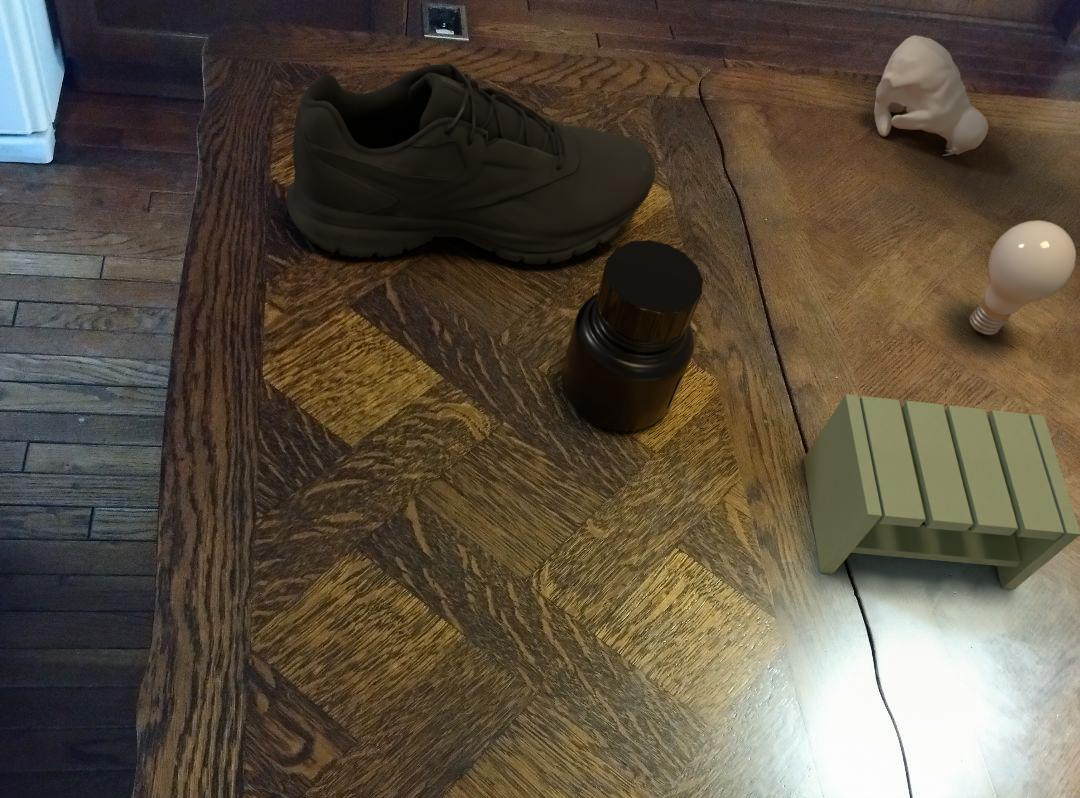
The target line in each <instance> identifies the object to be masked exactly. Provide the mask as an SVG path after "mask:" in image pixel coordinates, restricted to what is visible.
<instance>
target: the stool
mask: <svg viewBox="0 0 1080 798" xmlns="http://www.w3.org/2000/svg"><path fill="white" fill-rule="evenodd" d="M802 461H803V467H804V474H805V481H806V487H807V488H806V489H807V494H808V500H809V506H810V512H811V513H810V514H811V520H812V527H813V533H814V538H815V546H816V552H817V553H816V554H817V559H818V566H819V573H821V574H835V572H836V571H837V570H838V569H839V567H841V565H842V564H843V563H844V562H845V561H846V559H847V558H848V557H849V556H850V555H851V554H861V555H862V554H863V555H873V556H885V557H896V558H907V559H919V560H930V561H941V562H952V563H963V564H976V565H987V566H996V571H997V574H998V578H999V581H1000V585H1001V589H1007V590H1016V589H1017V588H1018V587H1019V586H1020V585H1022V584H1023V583H1024V582H1025V581H1026V580H1028V579H1029V578H1030V577H1032V575H1034V574H1035V573H1036V572H1037V571H1039V570H1040V569H1041V568H1042V567H1044V566H1045V565H1046V564H1048V562H1050V561H1051V560H1052V559H1053V558H1055V557H1056V556H1057V555H1058V554H1059V553H1060V552H1062V551H1063V550H1064V549H1065V548H1066V547H1068V546H1069V545H1070V544H1072V542H1074V541H1075V540H1076V539H1077V538H1079V537H1080V526H1079V523H1078V520H1077V517H1076V513H1075V510H1074V507H1073V504H1072V501H1071V498H1070V497H1071V496H1070V495H1069V491H1068V488H1067V485H1066V482H1065V479H1064V476H1063V472H1062V469H1061V465H1060V463H1059V459H1058V456H1057V453H1056V450H1055V447H1054V444H1053V441H1052V438H1051V434H1050V431H1049V427H1048V425H1047V421H1046V418H1045V415H1043V414H1036V413H1035V414H1033V413H1031V414H1030V415H1029V413H1022V412H1012V411H1005V410H995V409H991V411H990V412H989V413H988V414H987V410H986V409H985V408H976V407H969V406H960V405H959V406H958V405H951V404H949V405H948V406H946V408H945V407H944V404H941V403H933V402H924V401H915V400H905V402H904V403H903V404H902V405H901V402H900V399H894V398H886V397H877V396H869V395H868V396H867V395H861V397H860V395H859V394H850V393H845V394H844V396H843V397H842V399H841V400H840V402H839V404H838V405H837V407H836V408H835V410H834V411H833V413H832V414H831V416H830V417H829V419H828V421H827V422H826V424H825V425H824V427H823V428H822V429H821V431H820V433H819V434H818V436H817V437H816V438H815V440H814V441H813V442H812V445H811V446H810V448H809V449H808V451H807V453H806V454H805V456H803V460H802ZM923 523H924V524H925V525H923Z"/></svg>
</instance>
